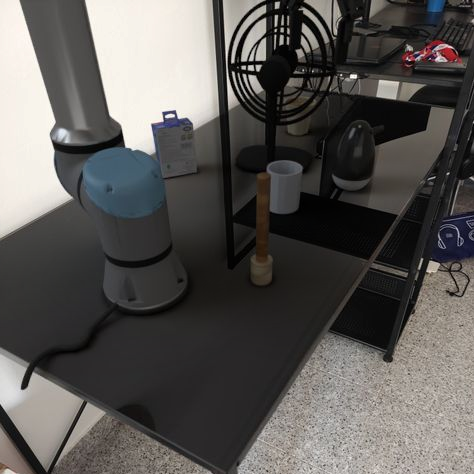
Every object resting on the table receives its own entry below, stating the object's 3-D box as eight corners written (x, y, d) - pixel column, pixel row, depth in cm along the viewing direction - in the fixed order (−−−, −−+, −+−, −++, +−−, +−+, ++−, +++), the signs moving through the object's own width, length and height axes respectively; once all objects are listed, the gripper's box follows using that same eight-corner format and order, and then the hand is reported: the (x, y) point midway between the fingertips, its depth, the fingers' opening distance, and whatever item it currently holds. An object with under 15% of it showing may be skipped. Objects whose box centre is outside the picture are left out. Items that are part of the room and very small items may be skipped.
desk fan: (327, 152, 122) (348, -6, 97) (319, 179, 110) (341, 6, 85) (235, 145, 127) (232, -8, 102) (218, 170, 115) (211, 3, 90)
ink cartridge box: (192, 164, 118) (187, 106, 107) (198, 172, 114) (193, 113, 104) (157, 170, 115) (148, 112, 105) (162, 179, 112) (153, 119, 101)
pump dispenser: (371, 197, 103) (386, 130, 92) (327, 193, 105) (337, 127, 94) (371, 178, 110) (384, 114, 99) (330, 175, 112) (339, 111, 101)
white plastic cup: (279, 217, 97) (281, 178, 91) (259, 204, 102) (260, 166, 95) (305, 207, 100) (309, 169, 94) (284, 194, 105) (287, 157, 98)
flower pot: (277, 128, 136) (279, 98, 129) (305, 125, 137) (308, 94, 131) (289, 139, 129) (291, 108, 123) (317, 135, 131) (321, 104, 125)
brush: (258, 288, 80) (261, 183, 65) (246, 277, 82) (246, 174, 68) (275, 280, 81) (282, 176, 67) (263, 270, 83) (266, 167, 69)
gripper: (406, -98, 65) (375, 65, 81) (299, -96, 80) (291, 42, 95) (371, -97, 62) (346, 72, 78) (267, -95, 77) (263, 47, 92)
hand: (316, 56), depth 86 cm, fingers open, 13 cm apart
